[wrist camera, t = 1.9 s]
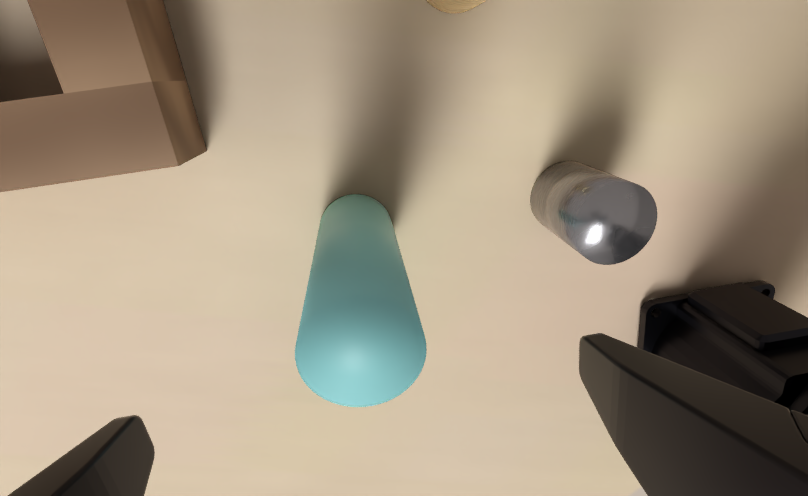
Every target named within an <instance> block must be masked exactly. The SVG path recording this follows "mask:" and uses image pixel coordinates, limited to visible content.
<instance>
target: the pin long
mask: <svg viewBox="0 0 808 496" xmlns="http://www.w3.org/2000/svg"><path fill="white" fill-rule="evenodd" d="M425 358H426V340H425V336H424V332H423V329H422V325H421V322H420V318H419V315H418V311H417V308H416V304H415V301H414V298H413V294H412V291H411V287H410V284H409V280H408V277H407V273H406V270H405V266H404V263H403V260H402V256H401V253H400V249H399V246H398V242H397V239H396V235H395V232H394V228H393V225H392V222H391V218H390V216H389V214H388V212H387V210H386V209H385V207H384V206H383V205H382V204H381V203H380V202H378V201H377V200H375V199H374V198H371V197H369V196H366V195H361V194H351V195H346V196H343V197H340V198H338V199H336V200H335V201H334V202H332V203H331V204H330V205H329V206H328V207H327V208H326V210H325V211H324V213H323V215H322V218H321V221H320V226H319V231H318V236H317V241H316V246H315V251H314V256H313V261H312V266H311V271H310V276H309V281H308V286H307V291H306V296H305V301H304V306H303V311H302V316H301V321H300V326H299V331H298V336H297V341H296V348H295V360H296V365H297V368H298V371H299V374H300V375H301V377H302V379H303V381H304V382H305V383H306V385H307V386H308V387H309V388H310V389H311V390H312V391H313V392H315V393H316V394H317V395H319V396H320V397H322V398H324V399H325V400H328V401H330V402H332V403H336V404H339V405H343V406H350V407H366V406H373V405H377V404H381V403H384V402H387V401H389V400H391V399H393V398H395V397H397V396H398V395H400V394H401V393H403V392H404V391H405V390H406V389H408V388H409V387H410V386H411V385H412V384H413V382H414V381H415V380H416V379H417V377H418V376H419V374H420V372H421V370H422V368H423V365H424V362H425Z"/></svg>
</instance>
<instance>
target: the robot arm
mask: <svg viewBox="0 0 808 496" xmlns="http://www.w3.org/2000/svg"><path fill="white" fill-rule="evenodd" d="M774 293H775V288H774V286H773V285H771V284H769V283H767V282H765V281H755V282H750V283H744V284H743V283H736V284H731V285H725V286H719V287H714V288H708V289H702V290H696V291H693V292H691V293H687V294H681V295H676V296H670V297H664V298H658V299H653V300H649V301H647V302H646V303H645V304H644V305H643V306H642V309H641V316H640V329H639V341H638V348H637V347H634V346H632V345H629V344H627V343H625V342H622V341H620V340H617V339H615V338H612V337H610V336H607V335H605V334H602V333H597V334H592V335H586V336H583V337H582V338H581V339H580V346H579V372H580V377H581V379H582V382H583V384H584V386H585V388H586V390H587V391H588V393H589V395H590V397H591V399H592V401H593V403H594V405H595V407H596V409H597V411H598V413H599V415H600V417H601V419H602V421H603V423H604V425H605V427H606V429H607V431H608V433H609V435H610V436H611V438H612V440H613V442H614V444H615V446H616V447H617V449H618V450H619V452H620V454H621V455H622V457H623V458H624V460H625V462H626V463H627V465H628V466H629V468H630V469H631V471H632V472H633V474H634V475H635V477H636V478H637V480H638V481H639V483H640V485H641V486H642V488H643V489H644V490H645V492H646V494H647V495H648V496H808V318H807V317H805V316H804V315H802V314H800V313H798V312H796V311H794V310H792V309H790V308H788V307H786V306H785V305H783V304H781V303H779V302H777V301H775V300H773V298H774ZM654 309H655V311H654V312H653V313H651V312H652V311H653V310H654ZM153 461H154V446H153V443H152V441H151V439H150V436H149V434H148V432H147V430H146V427H145V425H144V423H143V421H142V419H141V418H140V417H139V416H136V415H132V416H127V417H121V418H116V419H114V420H112V421H111V422H109V423H108V424H107V425H105V426H104V427H103V428H101V429H100V430H98V431H97V432H96V433H94V434H93V435H91V436H90V437H89V438H87V439H86V440H84V441H83V442H82V443H80V444H79V445H77V446H76V447H75V448H73V449H72V450H71V451H69V452H68V453H66V454H65V455H64V456H62V457H61V458H59V459H58V460H57V461H55V462H54V463H52V464H51V465H50V466H48V467H47V468H45V469H44V470H43V471H41V472H40V473H39V474H37V475H36V476H34V477H33V478H32V479H30V480H29V481H27V482H26V483H25V484H23V485H22V486H20V487H19V488H18V489H16V490H15V491H13V492H12V493H11V494H9V495H8V496H144V494H145V490H146V486H147V483H148V479H149V475H150V472H151V468H152V464H153Z"/></svg>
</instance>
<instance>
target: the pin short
mask: <svg viewBox="0 0 808 496" xmlns="http://www.w3.org/2000/svg"><path fill="white" fill-rule="evenodd" d="M530 203H531V209H532V212H533V214H534V216H535V218H536V219H537V220H538V221H539V222H540V223H541V224H542V225H544V226H545V227H546V228H548V229H549V230H550V231H551V232H553V233H554V234H555V235H557V236H558V237H559V238H561V239H562V240H563V241H565V242H566V243H567V244H568V245H570V246H571V247H572V248H574V249H575V250H576V251H578V252H579V253H580V254H581V255H583V256H584V257H585V258H587V259H588V260H590V261H592V262H594V263H597V264H603V265H610V264H616V263H620V262H623V261H625V260H627V259H629V258H631V257H633V256H634V255H636V254H637V253H638V252H639V251H640V250H641V249H642V248H643V247H644V246H645V245H646V244H647V242H648V241H649V240H650V238H651V236H652V234H653V232H654V229H655V226H656V222H657V207H656V204H655V201H654V199H653V197H652V195H651V194H650V193H649V192H648V191H647V190H646V189H645V188H644V187H642V186H640V185H638V184H635V183H632V182H630V181H627V180H624V179H622V178H619V177H616V176H614V175H611V174H608V173H606V172H603V171H600V170H598V169H595V168H592V167H590V166H587V165H584V164H582V163H579V162H575V161H564V162H559V163H557V164H554V165H552V166H551V167H549V168H548V169H546V170H545V171H544V172H543V173H542V174H541V175H540V176H539V177H538V179H537V180H536V182H535V184H534V186H533V189H532V192H531V198H530Z"/></svg>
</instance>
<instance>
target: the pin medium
mask: <svg viewBox="0 0 808 496" xmlns="http://www.w3.org/2000/svg"><path fill="white" fill-rule="evenodd" d="M426 1H427V2H428V3H429V4H430V5H432V6H433V7H434V8H436V9H438V10H440V11H443V12H446V13H462V12H466V11H468V10H470V9H472V8H474V7H476V6H478V5H480V4H482V3H483V2H485V1H487V0H426Z"/></svg>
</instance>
